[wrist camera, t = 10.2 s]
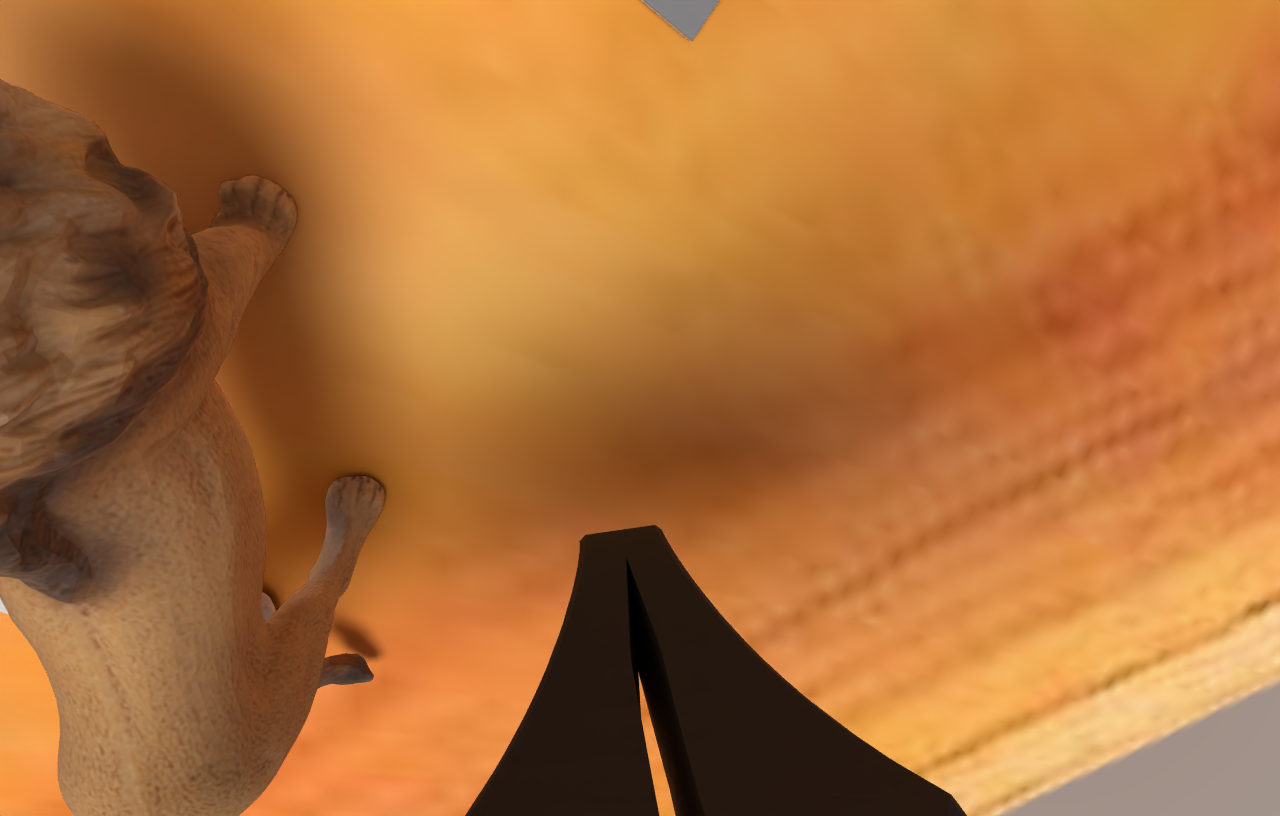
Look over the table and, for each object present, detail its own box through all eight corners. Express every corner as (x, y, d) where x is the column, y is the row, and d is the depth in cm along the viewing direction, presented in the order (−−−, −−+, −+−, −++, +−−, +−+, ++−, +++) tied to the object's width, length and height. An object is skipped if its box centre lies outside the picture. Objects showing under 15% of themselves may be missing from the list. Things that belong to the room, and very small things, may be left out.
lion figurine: (-171, 4, 11) (-2179, -22, 3) (196, -73, 11) (-680, -306, 3) (270, 684, 18) (74, 1214, 10) (486, 630, 18) (460, 1109, 10)
